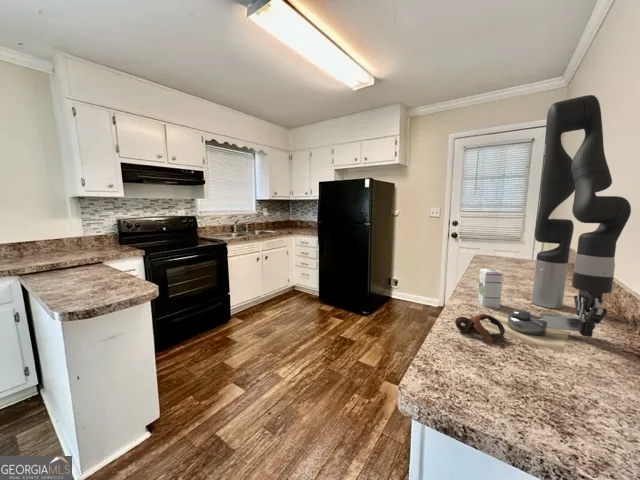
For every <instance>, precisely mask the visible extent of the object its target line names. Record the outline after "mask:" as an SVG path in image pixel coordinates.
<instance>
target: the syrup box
mask: <svg viewBox="0 0 640 480" xmlns="http://www.w3.org/2000/svg"><path fill="white" fill-rule="evenodd" d="M503 274H504V273H503V272H502V271H499V270H497V269H496V268H480V269H479V280H478V282H479V283H478V293H477V294H478V295H477V303H479V304H480V305H481V306H482V307H484V308H496V309H500V308H501V298H502V285H503Z"/></svg>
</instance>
